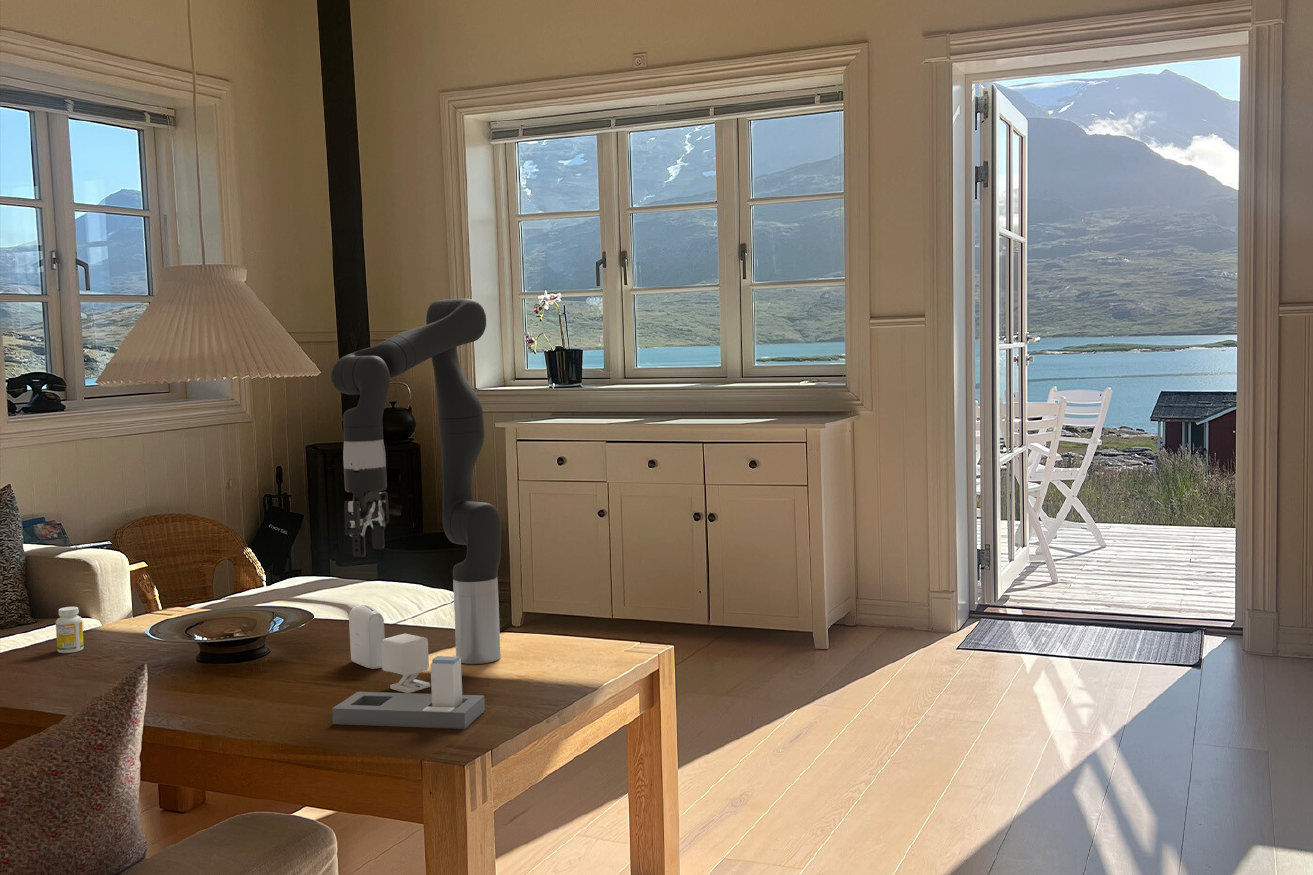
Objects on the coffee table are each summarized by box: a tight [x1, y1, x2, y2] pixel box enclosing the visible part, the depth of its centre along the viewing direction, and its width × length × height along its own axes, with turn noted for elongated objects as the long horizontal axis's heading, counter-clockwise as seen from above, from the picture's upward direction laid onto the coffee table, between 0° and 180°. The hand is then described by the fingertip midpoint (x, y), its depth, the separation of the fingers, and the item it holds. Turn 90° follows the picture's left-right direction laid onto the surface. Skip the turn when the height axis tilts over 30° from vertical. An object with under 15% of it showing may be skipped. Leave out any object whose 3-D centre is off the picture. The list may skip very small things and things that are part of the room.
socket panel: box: [331, 691, 486, 730], centre depth 200 cm, size 10×24×4 cm, turn 79°
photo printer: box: [348, 604, 385, 670], centre depth 239 cm, size 10×4×12 cm, turn 39°
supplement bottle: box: [55, 606, 85, 654], centre depth 258 cm, size 5×5×10 cm
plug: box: [430, 655, 463, 708], centre depth 199 cm, size 4×4×11 cm
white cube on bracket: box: [381, 633, 431, 693], centre depth 219 cm, size 6×7×10 cm
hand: (369, 552), depth 211 cm, fingers open, 8 cm apart
